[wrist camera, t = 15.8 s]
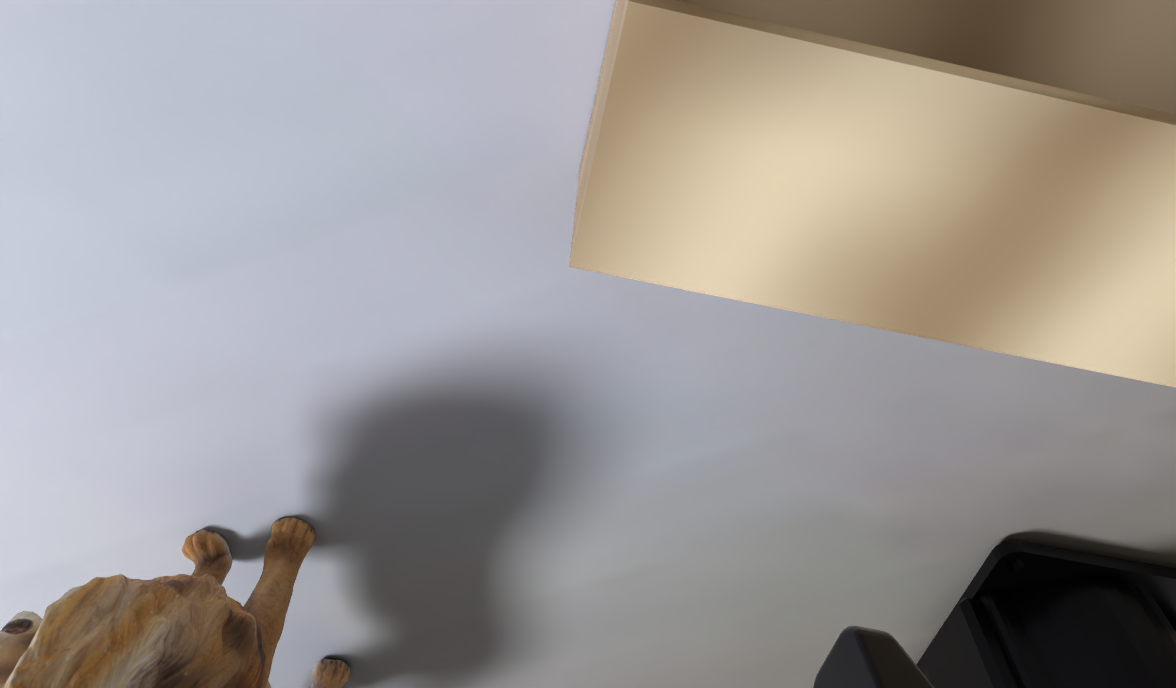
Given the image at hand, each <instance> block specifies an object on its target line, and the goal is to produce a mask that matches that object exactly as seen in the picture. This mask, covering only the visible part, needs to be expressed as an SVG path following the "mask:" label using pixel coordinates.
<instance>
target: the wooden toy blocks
mask: <svg viewBox="0 0 1176 688" xmlns="http://www.w3.org/2000/svg"><path fill="white" fill-rule="evenodd" d="M569 267H573V268H578V269H583V270H588V271H593V272H598V273H603V274H608V275H613V276H618V277H623V278H628V279H633V280H638V281H643V282H648V283H653V284H658V285H663V286H668V287H673V288H678V289H683V290H688V291H694V292H699V293H704V294H709V295H714V296H719V297H724V298H729V299H734V300H739V301H744V302H749V303H754V304H759V305H764V306H769V307H774V308H779V309H784V310H789V311H794V312H799V313H804V314H809V315H814V316H819V317H824V318H829V319H834V320H839V321H844V322H849V323H854V324H859V325H864V326H869V327H874V328H879V329H884V330H889V331H894V332H899V333H904V334H909V335H914V336H919V337H924V338H930V339H935V340H940V341H945V342H950V343H955V344H960V345H965V346H970V347H975V348H980V349H985V350H990V351H995V352H1000V353H1005V354H1010V355H1015V356H1020V357H1025V358H1030V359H1035V360H1040V361H1045V362H1050V363H1055V364H1060V365H1065V366H1070V367H1075V368H1080V369H1085V370H1090V371H1095V372H1100V373H1105V374H1110V375H1115V376H1120V377H1125V378H1130V379H1135V380H1140V381H1145V382H1150V383H1155V384H1161V385H1166V386H1171V387H1176V0H616V3H615V8H614V12H613V17H612V22H611V26H610V31H609V36H608V40H607V45H606V50H605V54H604V59H603V64H602V68H601V73H600V78H599V82H598V87H597V91H596V96H595V101H594V105H593V110H592V115H591V119H590V124H589V129H588V133H587V138H586V143H585V147H584V152H583V157H582V161H581V166H580V171H579V180H578V189H577V199H576V208H575V218H574V227H573V237H572V246H571V256H570V265H569Z"/></svg>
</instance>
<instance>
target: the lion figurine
mask: <svg viewBox="0 0 1176 688" xmlns="http://www.w3.org/2000/svg"><path fill="white" fill-rule="evenodd" d="M314 540H315V532H314V530H313V528H312V527H311V526H310V525H308V524H307V523H306V522H304V521H302V520H299V519H297V518H284V519H278V520H276V521H275V522H274V523H273V525H272V530H271V538H270V539H269V541H268V542H267V544H266V547H265V550H264V567H263V572H262V575H261V577H260V580H259V582H258V583H257V585H256V587H255V589H254V590H253V592H252V594H251V596H250V597H249V599H248V601H247V602H246V604H245V605H244V607H242V605H241V604H240V603H239V602H237V601H235V600H234V599H232V598H230V597H228V596H227V594H226V591H225V588H224V587H223V586H221V585H222V583H223V581H224V579H225V577H226V575H227V573H228V572H229V570H230V568H231V565H232V558H231V553H230V550H229V547H228V544H227V543H226V541H225V540H224V539H223V538H222V537H221V536H220V535H219V534H218V533H216V532H210V531H206V530H200V531H198V532H197V533H194V534H192V535H190V536H188V537H187V538H186V540H185V544H184V545H183V548H182V552H183V554H184V555H185V557H187V558H188V559H190V560H192V561H193V562H194V563H195V570H194V572H193V574H192V575H185V574H179V575H176V576H164V577H158V578H155V579H153V580H140V579H129V578H127V577H125V576H124V575H120V574H119V575H115V576H111V577H107V578H102V577H96V578H94V579H92V580H91V581H90V582H88V583H87V584H85V585H83V586H80V587H75V588H72V589H70V590H69V591H68V592H66V593H65V594H64V595H63V596H62V597H61V598H60V599H59V600H57V601H55V602H54V603H52V604H51V605H49V606H48V607H47V609H46V610H45V614H44V617H43V619H42V618H41V617H40V616H39V615H37V614H36V613H34V612H29V611H23V612H20V613H18V614H17V615H16V616H14V617H13V618H12V619H11V620H10V621H9V622H8V623H7V624H6V625H5V626H4V627H3V629H2V630H1V631H0V688H271V686H270V684H269V681H268V678H269V674H270V670H271V664H272V659H273V656H274V653H275V649H276V646H277V643H278V641H279V639H280V637H281V634H282V630H283V626H284V621H285V617H286V613H287V609H288V606H289V603H290V599H291V596H292V592H293V586H294V583H295V580H296V577H297V574H298V571H299V568H300V566H301V564H302V561H303V559H304V558H305V556H306V554H307V552H308V551H309V549H310V548H311V546H312V544H313V542H314ZM349 676H350V668H349V667H348V665H347V664H345V663H344V662H343V661H340V660H328V659H322V660H320V661H319V662H317V663H316V665H315V666H314V669H313V672H312V686H311V688H342V687H343V686H344V684H345V683H346V682H347V681H348V679H349Z"/></svg>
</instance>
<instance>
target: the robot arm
mask: <svg viewBox="0 0 1176 688" xmlns="http://www.w3.org/2000/svg"><path fill="white" fill-rule="evenodd" d="M1013 558H1014V559H1013ZM1010 559H1011V560H1010ZM814 688H1176V569H1171V568H1165V567H1160V566H1154V565H1149V564H1143V563H1138V562H1132V561H1126V560H1121V559H1115V558H1110V557H1104V556H1099V555H1093V554H1088V553H1082V552H1076V551H1071V550H1065V549H1060V548H1054V547H1049V546H1043V545H1037V544H1032V543H1026V542H1021V541H1007V542H1003V543H1001V544H999V545H997V546H996V547H995V548H994V549H993V550H992V551H991V553H990V554H989V556H988V557H987V559H986V560H985V562H984V563H983V565H982V566H981V568H980V569H979V571H978V573H977V574H976V576H975V577H974V579H973V580H972V582H971V583H970V585H969V586H968V588H967V589H966V591H965V592H964V594H963V595H962V597H961V598H960V600H959V601H958V603H957V604H956V606H955V607H954V609H953V610H952V612H951V613H950V615H949V616H948V618H947V619H946V621H945V622H944V624H943V625H942V627H941V628H940V630H939V631H938V633H937V634H936V636H935V638H934V639H933V641H932V642H931V644H930V645H929V647H928V648H927V650H926V651H925V653H924V654H923V656H922V657H921V659H920V660H919V662H918V663H917V665H916V664H915V663H914V662H913V660H912V659H911V658H910V657H909V655H908V654H907V653H906V652H905V650H904V649H903V648H902V647H901V646H900V644H899V643H898V642H897V641H896V640H895V639H894V638H893V637H892V636H891V635H890V634H888V633H886V632H884V631H880V630H875V629H869V628H864V627H858V626H849V627H847V628H846V629H844V630H843V631H842V633H841V634H840V636H839V637H838V639H837V641H836V642H835V644H834V646H833V648H832V649H831V651H830V653H829V655H828V656H827V658H826V660H825V662H824V663H823V665H822V667H821V668H820V670H819V672H818V674H817V676H816V679H815V682H814Z"/></svg>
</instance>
